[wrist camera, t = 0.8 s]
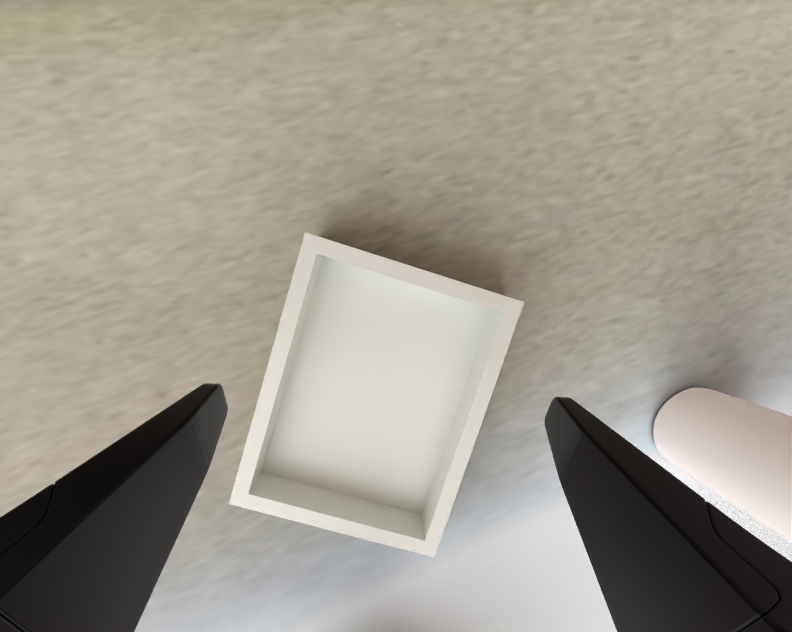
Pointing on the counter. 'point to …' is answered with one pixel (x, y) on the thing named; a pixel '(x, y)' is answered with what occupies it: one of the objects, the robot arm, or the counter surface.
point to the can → (731, 452)
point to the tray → (372, 396)
